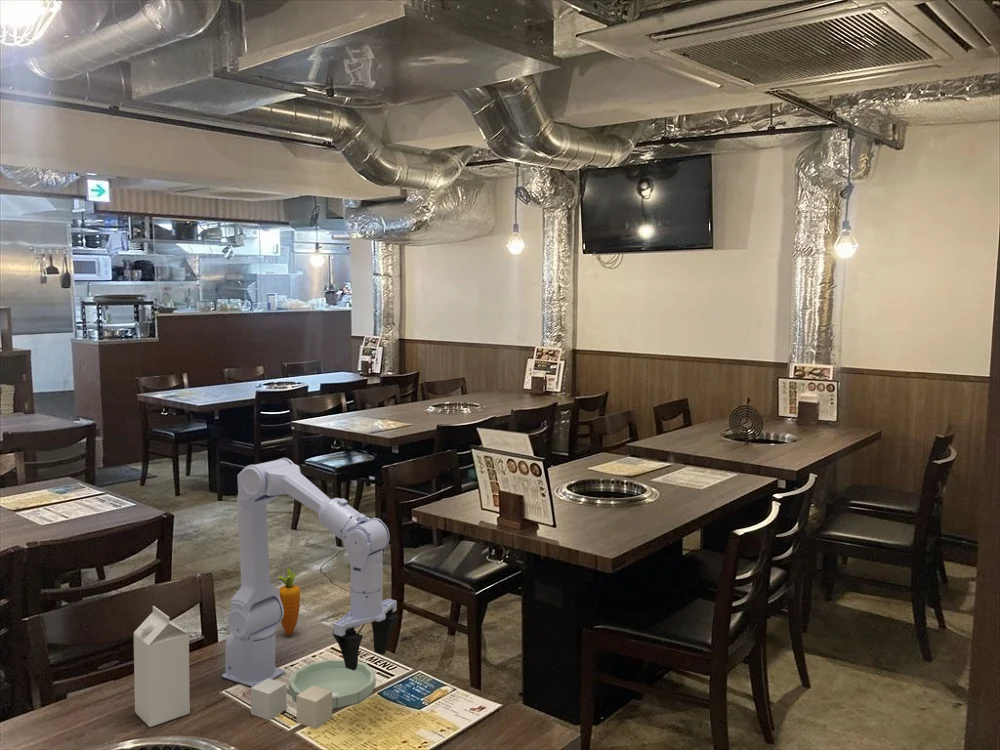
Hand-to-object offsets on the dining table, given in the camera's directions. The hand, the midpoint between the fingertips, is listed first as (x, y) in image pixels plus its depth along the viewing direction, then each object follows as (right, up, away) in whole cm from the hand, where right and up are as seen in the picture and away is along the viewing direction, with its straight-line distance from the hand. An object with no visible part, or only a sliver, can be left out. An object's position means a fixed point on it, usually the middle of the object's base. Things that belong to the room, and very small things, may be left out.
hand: (365, 660), depth 143 cm
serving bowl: (-8, -9, +10) cm, 16 cm away
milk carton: (-37, -9, -1) cm, 38 cm away
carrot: (-23, -7, +34) cm, 41 cm away
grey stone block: (-18, -10, 0) cm, 20 cm away
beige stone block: (-9, -10, -2) cm, 14 cm away
